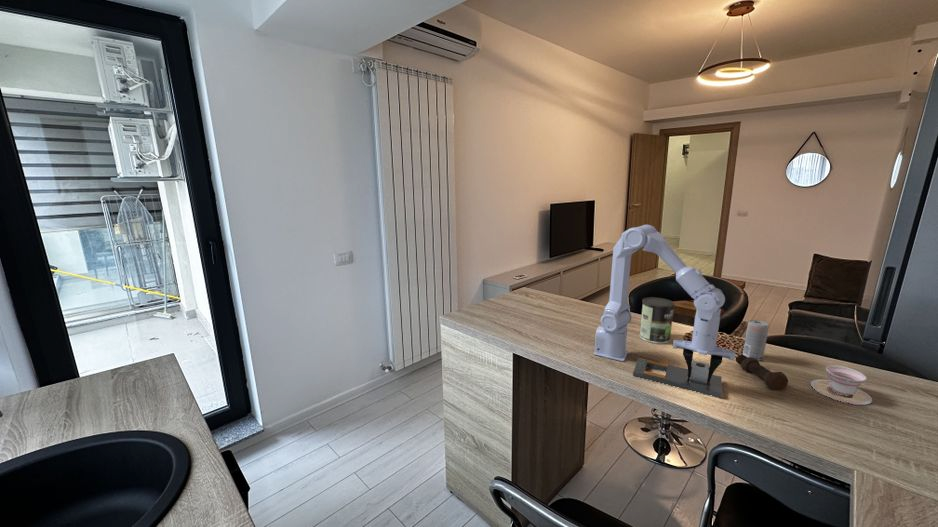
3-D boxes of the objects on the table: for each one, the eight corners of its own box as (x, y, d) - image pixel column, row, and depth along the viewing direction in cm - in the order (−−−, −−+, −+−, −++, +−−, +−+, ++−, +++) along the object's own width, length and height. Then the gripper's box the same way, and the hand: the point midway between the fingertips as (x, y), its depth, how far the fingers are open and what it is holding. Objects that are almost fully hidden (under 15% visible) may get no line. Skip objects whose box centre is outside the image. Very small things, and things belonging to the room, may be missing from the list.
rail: (632, 376, 111) (633, 371, 110) (638, 362, 119) (638, 357, 119) (721, 398, 99) (722, 392, 99) (720, 381, 107) (721, 376, 107)
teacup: (879, 411, 93) (885, 389, 92) (815, 397, 99) (820, 376, 98) (863, 388, 103) (868, 368, 102) (806, 377, 109) (810, 357, 108)
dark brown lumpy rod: (740, 369, 117) (779, 395, 103) (727, 362, 117) (765, 387, 102) (751, 354, 116) (793, 378, 102) (739, 347, 116) (778, 370, 101)
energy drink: (760, 355, 122) (766, 321, 120) (765, 362, 118) (771, 327, 115) (740, 352, 125) (746, 318, 122) (744, 359, 120) (750, 324, 117)
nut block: (689, 385, 106) (692, 365, 104) (690, 378, 109) (692, 359, 108) (706, 389, 104) (709, 369, 102) (706, 382, 107) (709, 363, 105)
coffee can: (674, 338, 136) (679, 301, 133) (663, 346, 129) (667, 308, 126) (646, 329, 143) (649, 295, 140) (633, 337, 137) (637, 301, 134)
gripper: (674, 331, 103) (668, 375, 106) (738, 343, 95) (730, 390, 99) (676, 323, 109) (671, 365, 112) (736, 333, 101) (729, 378, 104)
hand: (699, 376), depth 106 cm, fingers closed on nut block, 4 cm apart
